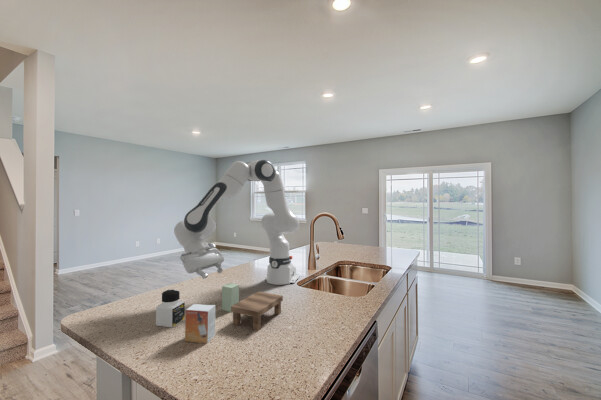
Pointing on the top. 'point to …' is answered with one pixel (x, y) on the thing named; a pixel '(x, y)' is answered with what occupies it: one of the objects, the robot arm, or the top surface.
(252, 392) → the top surface
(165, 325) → the medicine bottle
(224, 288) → the green block
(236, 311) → the stool
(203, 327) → the small box
